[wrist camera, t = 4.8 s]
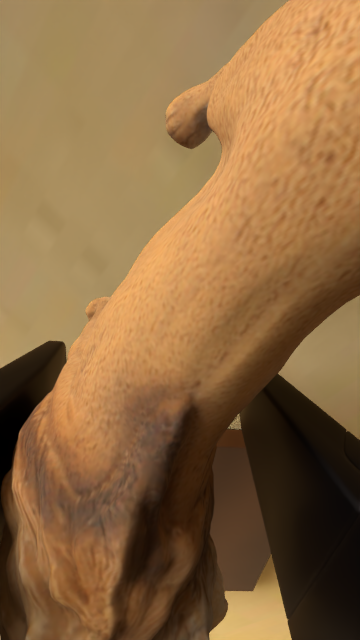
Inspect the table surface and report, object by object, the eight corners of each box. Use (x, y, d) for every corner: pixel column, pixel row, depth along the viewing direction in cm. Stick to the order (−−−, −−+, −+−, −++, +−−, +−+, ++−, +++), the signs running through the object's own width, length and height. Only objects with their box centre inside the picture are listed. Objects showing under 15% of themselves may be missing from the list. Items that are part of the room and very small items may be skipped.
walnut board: (312, 433, 18) (321, 451, 17) (249, 572, 25) (253, 591, 24) (90, 420, 17) (85, 439, 16) (96, 570, 24) (93, 589, 23)
